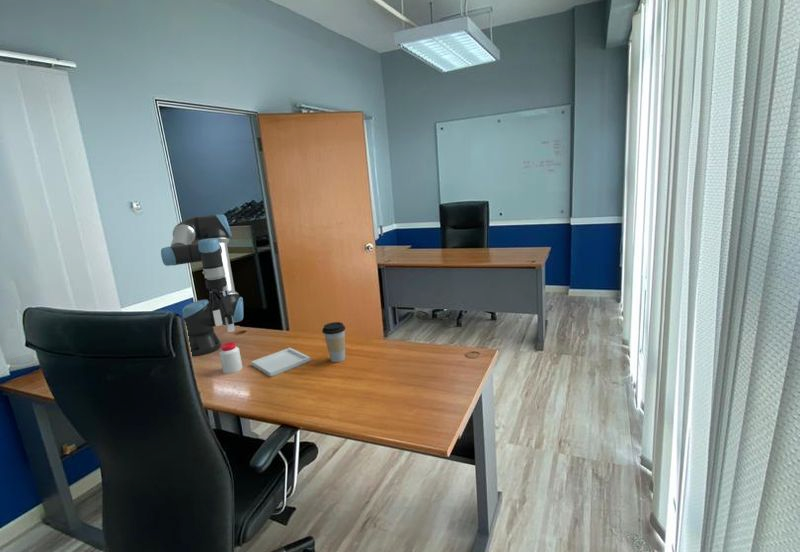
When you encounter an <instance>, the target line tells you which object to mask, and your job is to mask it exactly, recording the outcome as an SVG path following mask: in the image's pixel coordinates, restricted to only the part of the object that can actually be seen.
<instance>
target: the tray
mask: <svg viewBox="0 0 800 552" xmlns="http://www.w3.org/2000/svg"><path fill="white" fill-rule="evenodd" d="M310 362H312V357H311V356H309V355H306V354H304V352H303V353H302V352H300V351H298V350H297V349H294V348H292V347H288V348H285V349H282V350H280V351H276V352H274V353H270V354H269V355H265V356H262V357H260V358H257V359H254V360H252V361H251V362H250V363H251V366H252V367H254V368H256V369H257V370H258V371H260V372H262V373H263V374H266V375H267V376H269V377H270V378H273V377H275V376H277V375H281V374H282V373H285V372H287V371H290V370H294V369H295V368H298V367H300V366H303V365H305V364H307V363H310Z"/></svg>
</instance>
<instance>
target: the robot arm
mask: <svg viewBox="0 0 800 552" xmlns="http://www.w3.org/2000/svg"><path fill="white" fill-rule="evenodd" d="M232 237H233V235H232V231H231V229H230V225H229V222H228V219H227V216H226V215H225V214H211V215H202V216H201V215H200V216H194V217H187V218H186V219H183V220H181V221H180V222H178V224H176V225H175V226H174V228H173V230H172V240H171V243H170V246H167V247H166V246H165V247H162V248H161V249H160V256H161V260H162V263H163V265H164V266H166V267H170V266H179V265H185V264H192V263H193V264H194V263H199V262H201V265H202V270H203V271H202V272H201V273H202V275H204V279H205V280H204V281H205V286H206V289H208V292H209V296H208V297H209V300H208V299H200V300H196V301H192V302H190V303H189V304H187V305H185V306H184V307H182V311H181V312H182V319H183V321H184V320H185V322H186V326H187V330H188V336H189V342H190V347H191V352H192V356H193V357H194V356H202V355H203V356H204V355H207V354H211V353H213V352H216V351H218V350H219V349H220V348H221V346H222V343H221V339H220V338H219V337H218V335H217V334H216V332H215V329H214V328H215V327H218V326H223V325H226V326H225V327H226V331H227V333H232V332H235V331H236V328H235V323H238V322H241V321H243V319H244V299H243V297H242V296H240V294H239V293H238V292H237V291H236V289H235V283H234V278H233V272H232V267H231V260H230V255H229V249H228V244H229V242H230V238H232ZM193 242H197V243H193Z"/></svg>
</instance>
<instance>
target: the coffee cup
mask: <svg viewBox="0 0 800 552" xmlns="http://www.w3.org/2000/svg"><path fill="white" fill-rule="evenodd" d="M345 330H346V327H345V324H344V323H343V322H340V321H336V322H334V321H333V322H329V323H326V324H325V325H323V328H322V333H323V335H324V340H325V344H326V348H327V352H328V355H329V358H330V361H331V362H332V363H340V362H343V361H345V359H346V333H345Z"/></svg>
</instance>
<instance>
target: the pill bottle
mask: <svg viewBox="0 0 800 552" xmlns="http://www.w3.org/2000/svg"><path fill="white" fill-rule="evenodd" d="M220 348H221V350H219V353H218V355H219V358H220V364H221V369H222V372H223V374H226V375H227V374H234V373H238V372H239V371H241V370H243V361H242V357H241V352H240V348H239V346H237V345H236V342H233V341H230V342H226V343H223V344H221V347H220Z"/></svg>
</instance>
